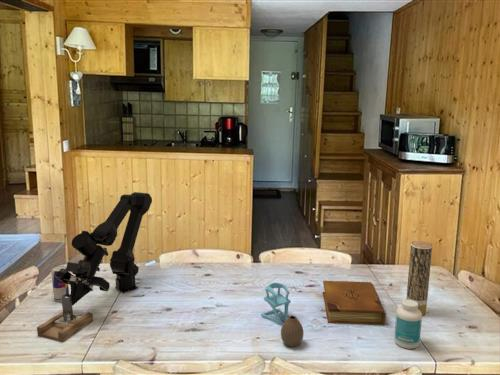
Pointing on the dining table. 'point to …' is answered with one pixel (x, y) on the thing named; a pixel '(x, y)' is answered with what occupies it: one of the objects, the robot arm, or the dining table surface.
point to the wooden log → (419, 273)
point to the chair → (276, 302)
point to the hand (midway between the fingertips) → (71, 304)
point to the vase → (292, 332)
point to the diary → (352, 303)
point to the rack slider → (66, 312)
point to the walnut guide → (60, 333)
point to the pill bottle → (408, 325)
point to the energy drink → (59, 284)
